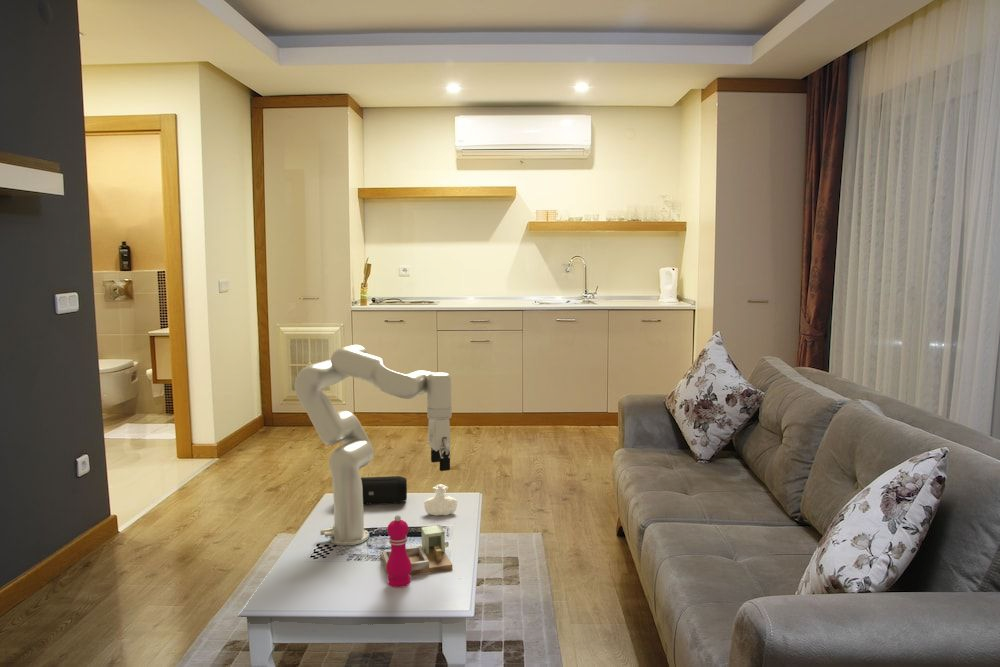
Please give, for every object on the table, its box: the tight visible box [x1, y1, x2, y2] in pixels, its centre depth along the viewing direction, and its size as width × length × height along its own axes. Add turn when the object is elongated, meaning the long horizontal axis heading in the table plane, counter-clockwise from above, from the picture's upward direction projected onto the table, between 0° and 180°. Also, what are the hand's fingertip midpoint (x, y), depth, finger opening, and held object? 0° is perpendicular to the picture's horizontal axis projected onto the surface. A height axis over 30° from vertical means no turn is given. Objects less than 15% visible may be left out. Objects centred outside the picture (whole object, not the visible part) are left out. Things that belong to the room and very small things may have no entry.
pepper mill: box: [385, 514, 412, 588], centre depth 203 cm, size 7×7×20 cm
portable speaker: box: [361, 475, 408, 506], centre depth 270 cm, size 26×10×10 cm, turn 95°
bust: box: [423, 483, 458, 517], centre depth 259 cm, size 12×8×11 cm
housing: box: [421, 524, 446, 554], centre depth 223 cm, size 6×6×6 cm
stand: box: [379, 545, 453, 578], centre depth 217 cm, size 19×16×4 cm
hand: (440, 466), depth 223 cm, fingers open, 9 cm apart
